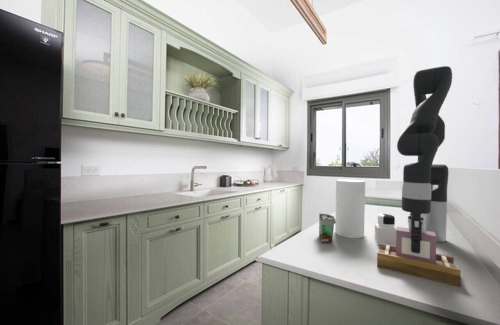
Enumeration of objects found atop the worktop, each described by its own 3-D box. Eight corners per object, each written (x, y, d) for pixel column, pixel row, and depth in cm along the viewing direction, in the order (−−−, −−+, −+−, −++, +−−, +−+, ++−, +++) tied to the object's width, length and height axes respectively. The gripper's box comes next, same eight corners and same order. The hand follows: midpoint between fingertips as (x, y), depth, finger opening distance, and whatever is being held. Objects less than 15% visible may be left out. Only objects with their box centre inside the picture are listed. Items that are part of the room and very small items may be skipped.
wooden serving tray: (379, 255, 83) (380, 243, 83) (452, 270, 72) (453, 256, 72) (377, 266, 74) (377, 252, 74) (460, 286, 63) (460, 270, 63)
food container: (337, 245, 92) (338, 220, 92) (321, 244, 93) (322, 219, 93) (332, 235, 104) (333, 213, 104) (318, 234, 105) (319, 213, 105)
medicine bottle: (393, 241, 98) (393, 213, 97) (398, 247, 91) (398, 217, 91) (374, 239, 100) (375, 212, 100) (377, 245, 93) (378, 215, 93)
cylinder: (360, 230, 112) (361, 179, 112) (367, 239, 100) (368, 182, 100) (333, 228, 115) (334, 179, 115) (336, 236, 103) (337, 181, 103)
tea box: (433, 260, 72) (434, 232, 72) (435, 266, 68) (436, 236, 68) (396, 253, 78) (396, 226, 78) (395, 258, 73) (396, 230, 73)
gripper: (433, 201, 65) (432, 260, 65) (428, 195, 77) (427, 244, 77) (401, 198, 69) (400, 253, 69) (401, 193, 81) (400, 240, 81)
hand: (414, 248), depth 73 cm, fingers open, 6 cm apart
